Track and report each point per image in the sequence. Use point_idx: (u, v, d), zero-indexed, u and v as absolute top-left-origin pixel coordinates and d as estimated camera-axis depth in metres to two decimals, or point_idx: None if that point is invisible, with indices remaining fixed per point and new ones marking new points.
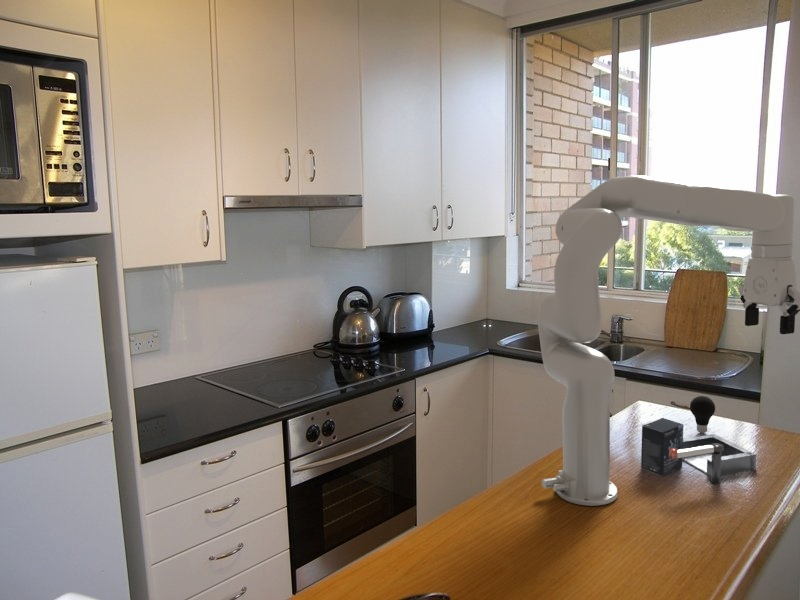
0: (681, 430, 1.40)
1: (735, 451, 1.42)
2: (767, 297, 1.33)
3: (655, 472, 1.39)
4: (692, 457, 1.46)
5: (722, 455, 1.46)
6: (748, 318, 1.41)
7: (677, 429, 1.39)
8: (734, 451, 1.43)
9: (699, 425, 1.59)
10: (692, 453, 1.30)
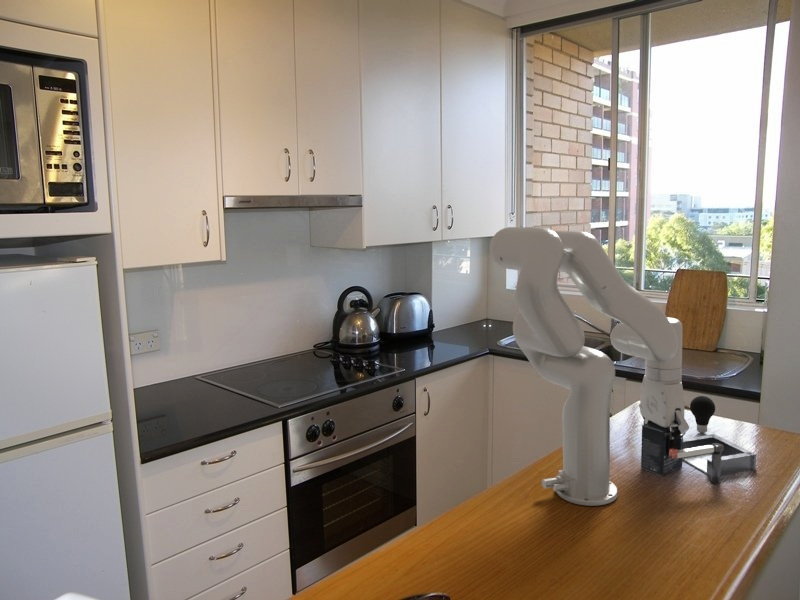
0: None
1: (735, 451, 1.42)
2: (658, 418, 1.37)
3: (655, 472, 1.39)
4: (692, 457, 1.46)
5: (722, 455, 1.46)
6: None
7: None
8: (734, 451, 1.43)
9: (699, 425, 1.59)
10: (692, 453, 1.30)
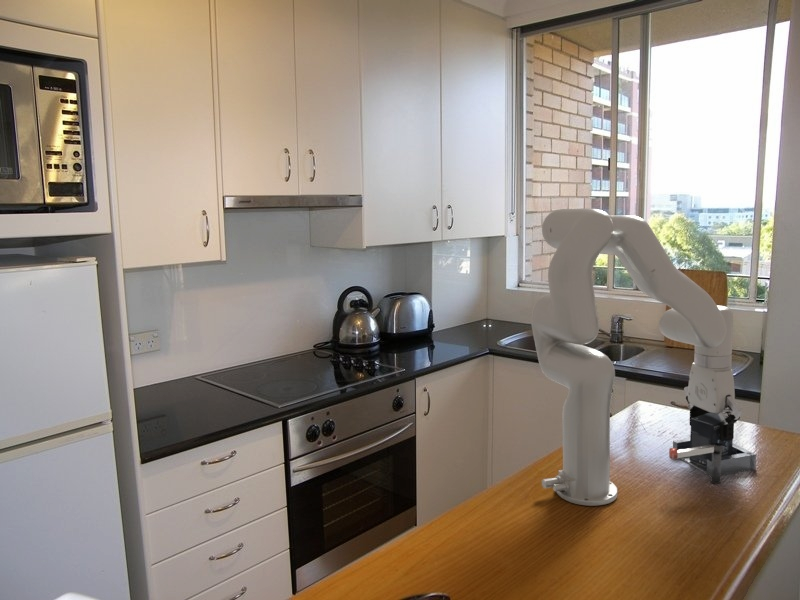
0: None
1: (735, 451, 1.42)
2: (707, 404, 1.39)
3: (704, 464, 1.41)
4: None
5: None
6: None
7: None
8: (734, 451, 1.43)
9: None
10: (692, 453, 1.30)
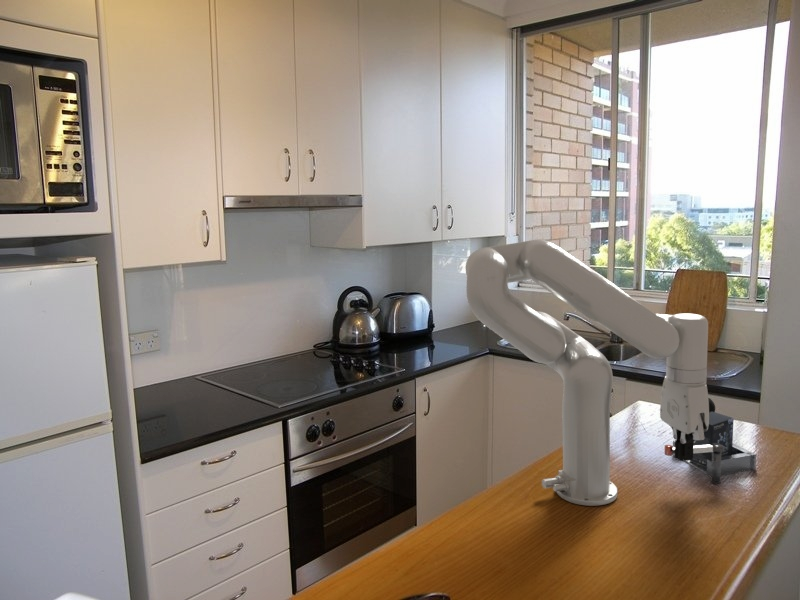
0: (731, 424, 1.41)
1: (735, 451, 1.42)
2: (679, 423, 1.26)
3: (704, 464, 1.41)
4: None
5: None
6: None
7: (727, 422, 1.40)
8: (734, 451, 1.43)
9: None
10: None
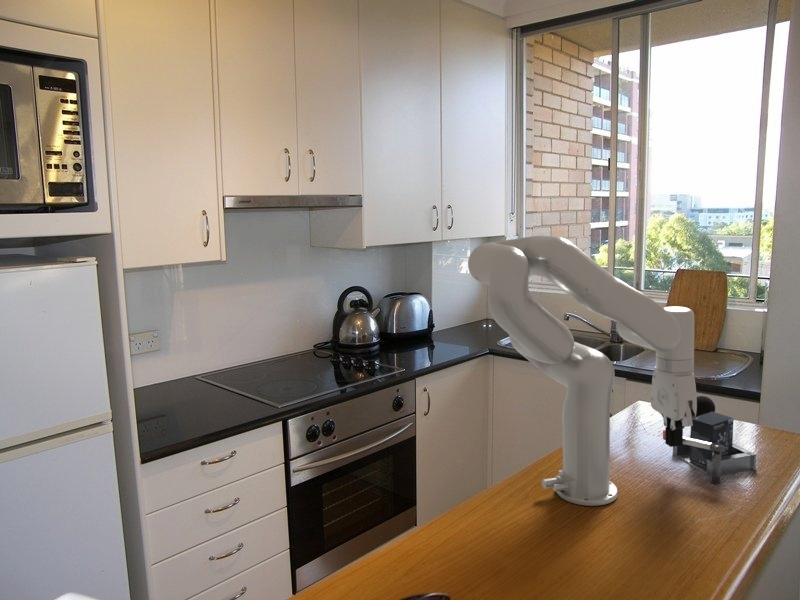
0: (731, 424, 1.41)
1: (735, 451, 1.42)
2: (669, 410, 1.32)
3: (704, 464, 1.41)
4: None
5: None
6: None
7: (727, 422, 1.40)
8: (734, 451, 1.43)
9: None
10: (684, 441, 1.37)
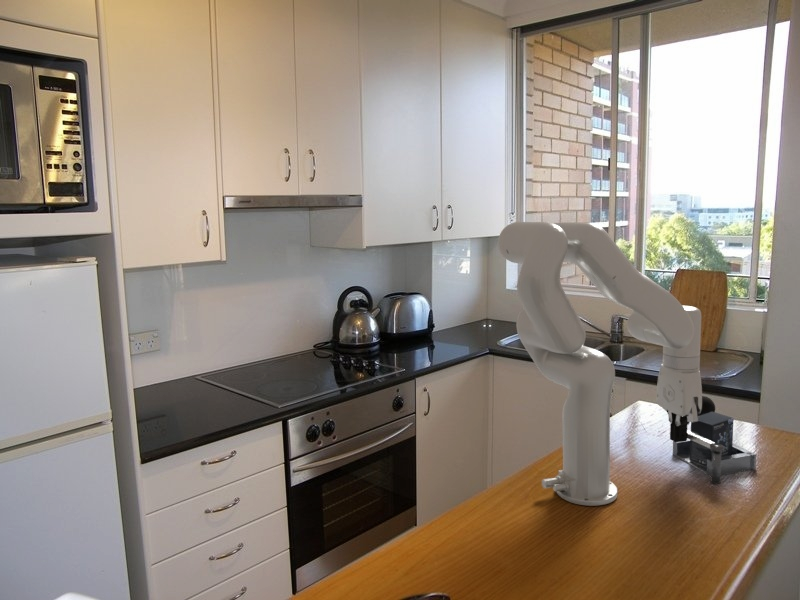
0: (731, 424, 1.41)
1: (735, 451, 1.42)
2: (675, 406, 1.36)
3: (704, 464, 1.41)
4: None
5: None
6: None
7: (727, 422, 1.40)
8: (734, 451, 1.43)
9: None
10: (692, 438, 1.38)
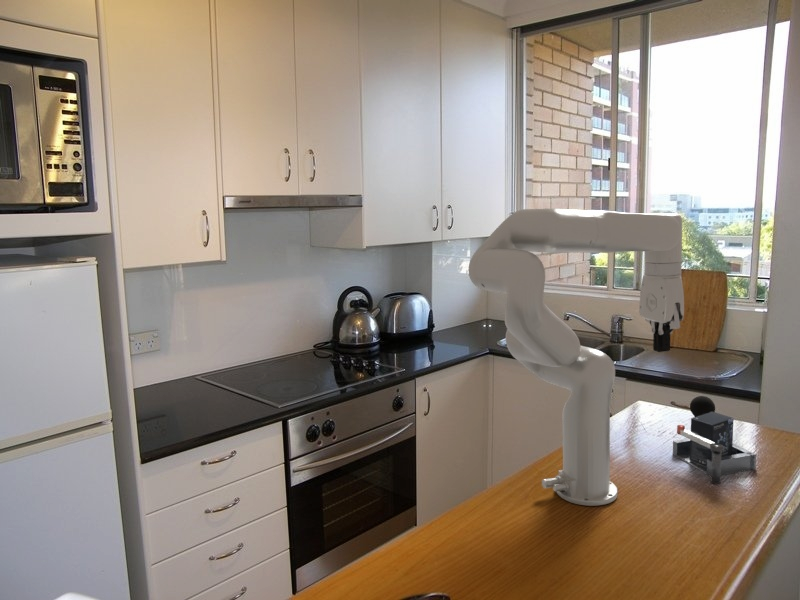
0: (731, 424, 1.41)
1: (735, 451, 1.42)
2: (657, 314, 1.36)
3: (704, 464, 1.41)
4: None
5: None
6: None
7: (727, 422, 1.40)
8: (734, 451, 1.43)
9: None
10: (692, 438, 1.38)
